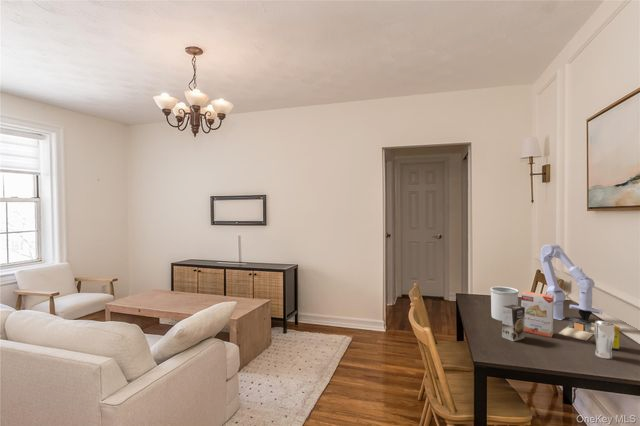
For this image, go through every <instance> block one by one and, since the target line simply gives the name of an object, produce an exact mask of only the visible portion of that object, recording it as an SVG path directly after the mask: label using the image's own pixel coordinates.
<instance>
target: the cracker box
mask: <svg viewBox="0 0 640 426" xmlns="http://www.w3.org/2000/svg"><path fill="white" fill-rule="evenodd" d="M520 306H522V307H525V322H524V333H529V334H532V335H538V336H542V337H546V338H553V334H554V332H553V331H554V319H553V311H554V296H552V295H547V294H543V293H538V292H532V291H525V290H524V291H522V292H521V304H520Z"/></svg>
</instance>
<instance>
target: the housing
mask: <svg viewBox="0 0 640 426" xmlns="http://www.w3.org/2000/svg"><path fill="white" fill-rule="evenodd" d="M575 322H578V323H582V324H585V332H590V331H591V323H592V321H589V320H588V321H585V320H582V319H580V318H575V317H569V319H568V326H569V328H572V329H573V328H574V323H575Z"/></svg>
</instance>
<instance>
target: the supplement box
mask: <svg viewBox="0 0 640 426" xmlns="http://www.w3.org/2000/svg"><path fill="white" fill-rule="evenodd" d="M620 330H621V329H620V326H617V325H616V324H614V332H615V334H614V341H613V345H612V350H614V351H619V350H620Z"/></svg>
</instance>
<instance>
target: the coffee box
mask: <svg viewBox="0 0 640 426" xmlns="http://www.w3.org/2000/svg"><path fill="white" fill-rule="evenodd" d="M501 322H502V325H501V326H502V327H501V338H503V339H506V340H508V341H511V342H517V341H520V340H523V339H525V332H524V322H525V307H522V306H521V305H519V304H518V305H508V306H503V320H502V321H501Z"/></svg>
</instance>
